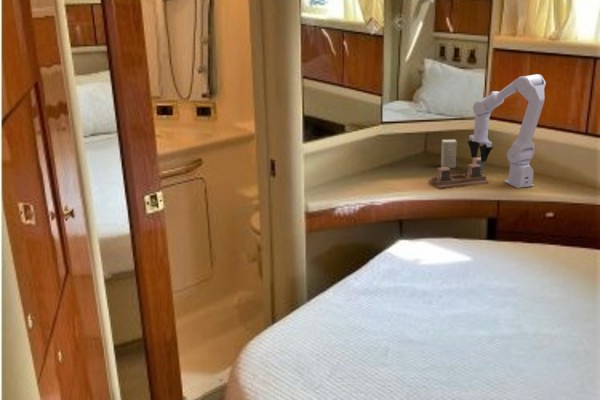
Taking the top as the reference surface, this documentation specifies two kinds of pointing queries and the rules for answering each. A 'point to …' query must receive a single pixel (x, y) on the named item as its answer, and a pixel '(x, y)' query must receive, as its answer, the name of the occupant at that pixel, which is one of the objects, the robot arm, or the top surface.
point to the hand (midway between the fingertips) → (478, 159)
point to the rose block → (478, 161)
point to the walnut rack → (458, 178)
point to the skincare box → (448, 153)
